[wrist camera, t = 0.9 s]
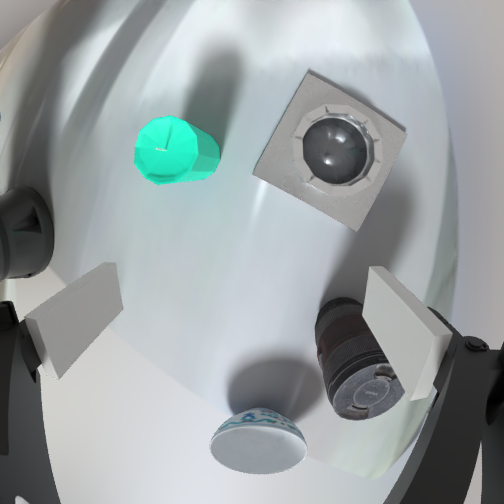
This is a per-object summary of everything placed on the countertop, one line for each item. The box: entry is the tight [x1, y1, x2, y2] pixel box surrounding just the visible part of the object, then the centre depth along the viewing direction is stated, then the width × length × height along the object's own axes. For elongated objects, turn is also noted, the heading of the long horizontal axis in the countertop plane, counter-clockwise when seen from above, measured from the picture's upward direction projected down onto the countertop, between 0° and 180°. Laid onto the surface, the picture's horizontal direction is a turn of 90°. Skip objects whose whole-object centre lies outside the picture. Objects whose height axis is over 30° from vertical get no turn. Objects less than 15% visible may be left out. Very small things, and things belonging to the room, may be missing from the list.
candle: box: [134, 116, 220, 185], centre depth 26 cm, size 6×6×12 cm
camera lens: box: [315, 298, 405, 421], centre depth 29 cm, size 8×8×15 cm
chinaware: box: [209, 408, 307, 474], centre depth 39 cm, size 15×15×8 cm
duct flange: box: [252, 73, 407, 232], centre depth 29 cm, size 14×14×3 cm
